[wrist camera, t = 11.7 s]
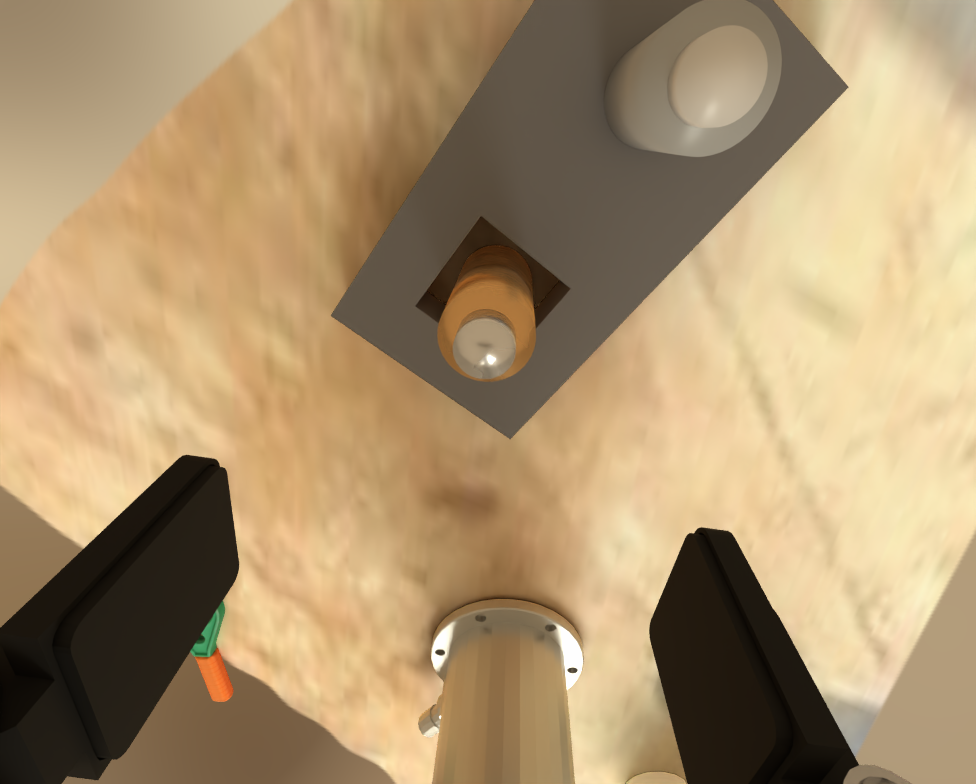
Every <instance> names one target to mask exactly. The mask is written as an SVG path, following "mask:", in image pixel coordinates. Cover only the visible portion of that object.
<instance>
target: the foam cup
mask: <svg viewBox="0 0 976 784" xmlns="http://www.w3.org/2000/svg"><path fill="white" fill-rule="evenodd" d="M626 784H686V782H685V780H684V779H682V778H680V777H679V776H677V775H675V774H671V773H666V772H646V773H643V774H640V775H636V776H634V777H633V778H631V779H630V780H629V781H627V782H626Z"/></svg>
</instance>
